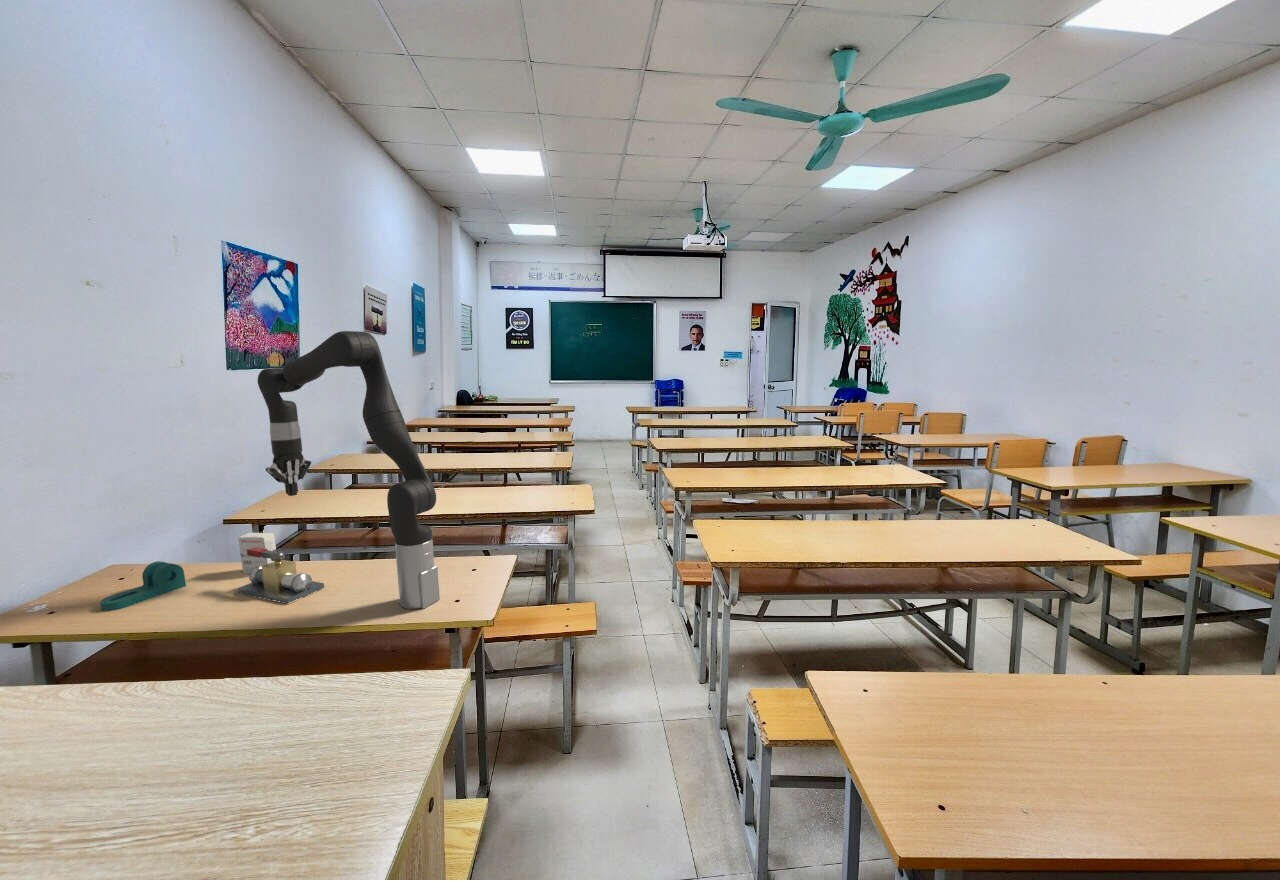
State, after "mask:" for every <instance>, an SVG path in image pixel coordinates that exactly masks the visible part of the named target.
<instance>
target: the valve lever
mask: <svg viewBox="0 0 1280 881" xmlns="http://www.w3.org/2000/svg"><path fill="white" fill-rule="evenodd" d="M247 556H253V557H258V558H260V557H265V558H270V559H271V561H279V560H285V559H286V557H285V551H284V550H276V552H275V551H269V550H267V549H265V548H259V547H253V548H250V549H247Z"/></svg>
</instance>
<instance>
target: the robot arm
mask: <svg viewBox="0 0 1280 881" xmlns="http://www.w3.org/2000/svg"><path fill="white" fill-rule="evenodd" d="M381 352H382V351H381V349H380V346H379V344H378V341H377V340H376V338H375V337H374V335H372V334H371V333H369V332H366V331H354V330H352V331H351V330H342V331H337V332H335V333H333V334H332V335H330V336H329V337H328V338H326V340H324V341H323V342H322V343H321V344H319V345H318V346H316V347H315V348H313V349H312V350H311V351H309V352H308V353H306V354H303V355H302V356H299V357H297V358H294V359H293V360H290V361H288V362H287V363H286V364H284V366H283V367H274V368H273V367H272V368H271V367H268V368H264V369H262V370H260V372H259V374H258V375H257V385H258V388H259V390H260V392H261V394H262V398H263V399H264V402H265V404H266V406H267V409H268V417H269V436H270V444H271V446H270V447H271V453H272V455H273V459H272V464H271V465H270V466H269V467H268V466H267V467H266V468H265V471H266V472H267V473H268V474H269V475H270V476H271V477H272V478H273V479H274V480H275V481H276V482H277V483H282V484H284V488H285V494H286V495H287V496H290V497H293V496H297V495H298V492H299V488H298V486H299V485H298V482H299V481H300V480H303V479H304V477H305V476H306V474H307V473H308V470H309V468H310V467H311V464H312V460H307V459H305V458H304V455H303V453H302V451H303V445H302V444H303V443H302V436H301V427H300V422H299V417H298V416H299V415H298V414H299V413H298V407H297V403H296V402H294V401H293V400H286V399H285V400H284V399H283V397H282V395H281V393H293V392H297V391H298V390H301V388H302V387H304V385H305V384H308V383H311V382H313V381H315V380H317V379H319V378H321V376H323V374H325V372H326V370H328V369H331V368H337V367H344V368H345V367H346V368H347V367H348V368H351V367H354V368H355V367H359V369H360V370H361V372H362V375H363V379H364V381H365V386H366V387H365V388H366V389H365V397H364V402H363V405H362V419H363V422H364V425H365V428H366V430H367V432H368V435H369V437H370V440H371V441H372V442H373V444H374V445H375V446H376V447H377V448H378V449H379V450H380V451H381V452H382V453H384V454H385V455H386V456H388V458H390V460H391V461H393V462H394V463H395V464H396V466H397V467H398V469H399V471H400V473H401V475H402V477H403V480H404V481H400V482H399V483H395V484H393V485H392V486H391V487H390V488H389V490H388V492H387V496H386V498H387V499H386V500H387V501H386V503H387V510H388V512H387V513H388V518H389V519H388V520H389V525H390V529H391V530H390V531H391V533H392V535H393V537H394V546H395V547H394V548H395V560H396V571H397V585H398V595H399V606H400V607H402V608H403V609H407V610H408V609H411V610H415V609H426V608H428V607H430V606H431V605H432V604H434V603H436V602H438V601H440V600H441V599H440V598H441V596H440V584H439V583H440V582H439V569H438V566H437V565H435V556H434V545H433V544H434V543H433V542H434V541H433V532H432V528H431V527H430V526H428V525H424V524H418V520H417V519H418V518H417V515H420V514H423V513H426V512H428V511H430V510H433V508H434V507H435V506H436V503H437V493H436V489H435V486H434V483H433V481H432V480H431V478H430V476H429V474H428V472H427V470H426V468H425V467H424V465H423V462H422V461H421V458H420V456H419V454H418V452H417V449H416V447H415V445H414V443H413V441H412V438H411V434H410V433H409V430H408V427H407V424H406V422H405V419H404V417H403V413H402V412H401V409H400V407H399V405H398V403H397V400H396V397H395V394H394V392H393V389H392V387H391V383H390V381H389V378H388V374H387V370H386V367H385V363H384V360H383V356H382V353H381Z"/></svg>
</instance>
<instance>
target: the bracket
mask: <svg viewBox="0 0 1280 881" xmlns="http://www.w3.org/2000/svg"><path fill="white" fill-rule="evenodd" d="M141 576H142V583H143V584H142V585H140V586H137V587H133V588H131V589H128V590H125V591H122V592H118V593H116V594H112V595H110V596H107V597H105V598H103V599H101V600H100V608H101V611H103V612H112V611H117V610H122V609H125V608H129V607H131V606H134V605H137V604H140V603H143V602H145V601H148V600H151V599H154V598H156V597H159V596H163V595H166V594H167V593H168V594H169V593H171V592H173V591H174V592H175V591H176V590H180V589H182V588H185V587H186V586H187V584H186V578H185V576H186V575H185V570H184V568H183V567H182V566H181V565H179V564H175V563H169V562H166V561H158V560H157V561H153V562H151V563H150V564H148V565H146V567H145V568H144V569H143V571H142V575H141Z"/></svg>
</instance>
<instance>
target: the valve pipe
mask: <svg viewBox="0 0 1280 881" xmlns="http://www.w3.org/2000/svg"><path fill="white" fill-rule="evenodd" d="M248 579H249V581H250V582H249V583H248V584H245V585H243V586H239V587H237V591H238V592H237V593H238V594H240V593H241V595H244V596H249V595H250V597H254V596H255V597H254V598H258V597H261V598H260V599H263V598H266V599H265V600H267V599H270V600H269V601H272V600H276V601H280V602H279V603H281V602H285V603H289V602H292V601H294V600H296V599H299V598H301V597H303V598H305V597H304V596H306V597H308V596H309V595H308V594H310V595H312V594H314V593H313V592H315V591H317V592H319V591H321V590H323V589H322V588H324V589H325V583H324V582H320V581H314V580H312V576H311V575H310V574H308V573H302V572H301V573H297V565H296V561H291V560H285V559H282V560H279V561H274V562H272V563H269V564H266V565H263V566H262V565H259V566H256V567H254V568H253V569H252V570H251V572H250V574H249V575H248ZM320 589H321V590H320ZM318 590H319V591H318ZM311 593H312V594H311ZM315 593H316V592H315ZM307 595H308V596H307ZM301 599H302V598H301ZM299 600H300V599H299ZM276 601H275V602H276ZM294 602H295V601H294ZM285 603H284V604H285ZM292 603H293V602H292Z"/></svg>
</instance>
